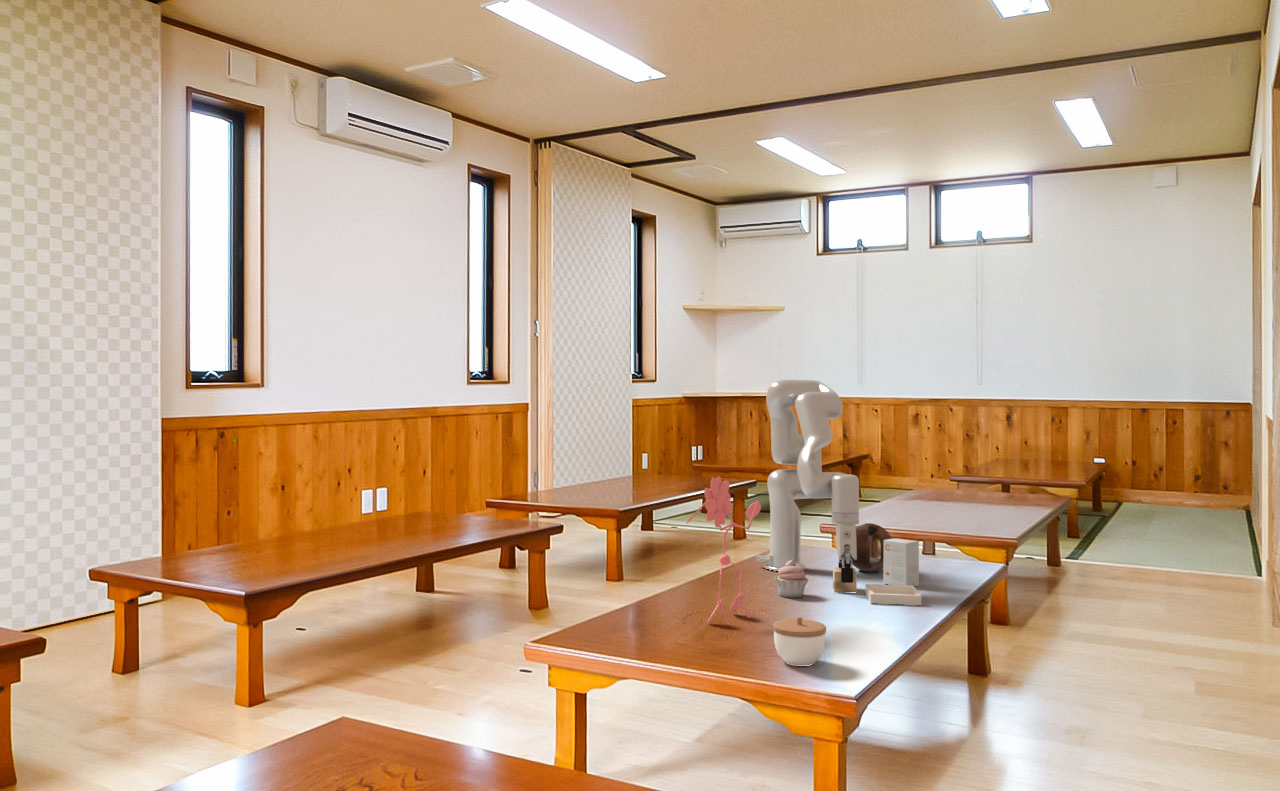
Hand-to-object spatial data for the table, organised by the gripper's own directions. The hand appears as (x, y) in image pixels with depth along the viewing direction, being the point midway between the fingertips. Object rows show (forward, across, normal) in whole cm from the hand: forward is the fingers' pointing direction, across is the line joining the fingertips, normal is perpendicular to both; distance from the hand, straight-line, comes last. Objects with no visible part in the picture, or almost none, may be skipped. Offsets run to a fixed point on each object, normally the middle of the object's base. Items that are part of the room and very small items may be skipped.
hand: (845, 579), depth 259 cm
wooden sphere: (+3, +32, -10) cm, 33 cm away
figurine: (+4, -37, +34) cm, 51 cm away
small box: (+4, +12, -17) cm, 21 cm away
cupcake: (+4, -8, +15) cm, 18 cm away
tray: (+4, -8, -12) cm, 15 cm away
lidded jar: (+5, -72, +15) cm, 74 cm away
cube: (+4, +1, 0) cm, 4 cm away
